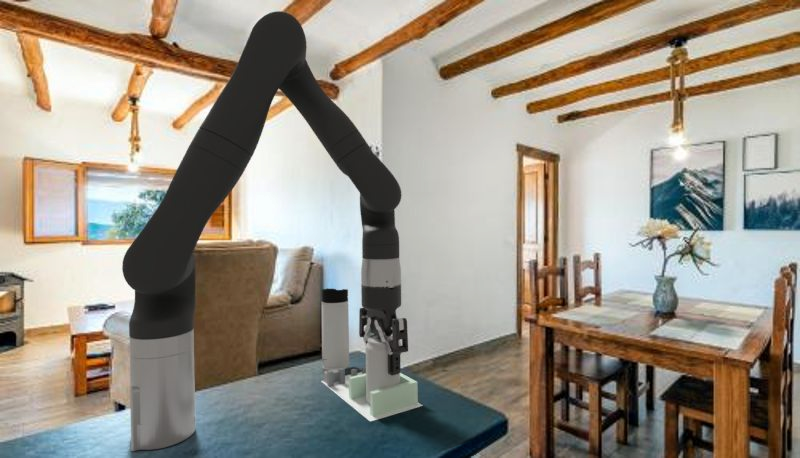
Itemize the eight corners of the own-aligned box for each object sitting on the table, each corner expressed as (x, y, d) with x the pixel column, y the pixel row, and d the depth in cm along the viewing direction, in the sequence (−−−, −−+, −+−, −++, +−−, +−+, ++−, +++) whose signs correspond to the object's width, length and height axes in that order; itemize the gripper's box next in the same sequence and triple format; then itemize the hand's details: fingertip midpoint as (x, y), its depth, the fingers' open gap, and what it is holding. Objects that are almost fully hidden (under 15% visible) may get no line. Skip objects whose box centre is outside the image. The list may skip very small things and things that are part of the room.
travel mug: (317, 375, 96) (316, 288, 96) (329, 365, 102) (327, 284, 102) (342, 377, 95) (341, 289, 94) (353, 367, 101) (351, 285, 101)
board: (370, 428, 71) (369, 403, 70) (321, 386, 89) (320, 367, 89) (422, 411, 76) (422, 389, 76) (366, 376, 95) (366, 357, 95)
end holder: (373, 416, 72) (372, 393, 72) (349, 397, 80) (348, 377, 80) (417, 403, 77) (417, 382, 77) (391, 386, 85) (390, 367, 85)
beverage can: (403, 396, 81) (402, 334, 81) (396, 410, 74) (395, 343, 74) (371, 394, 82) (370, 333, 82) (362, 408, 76) (361, 342, 76)
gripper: (346, 279, 83) (348, 361, 83) (383, 288, 71) (384, 383, 71) (379, 276, 87) (380, 354, 87) (419, 284, 75) (420, 374, 75)
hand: (382, 367), depth 79 cm, fingers open, 8 cm apart
